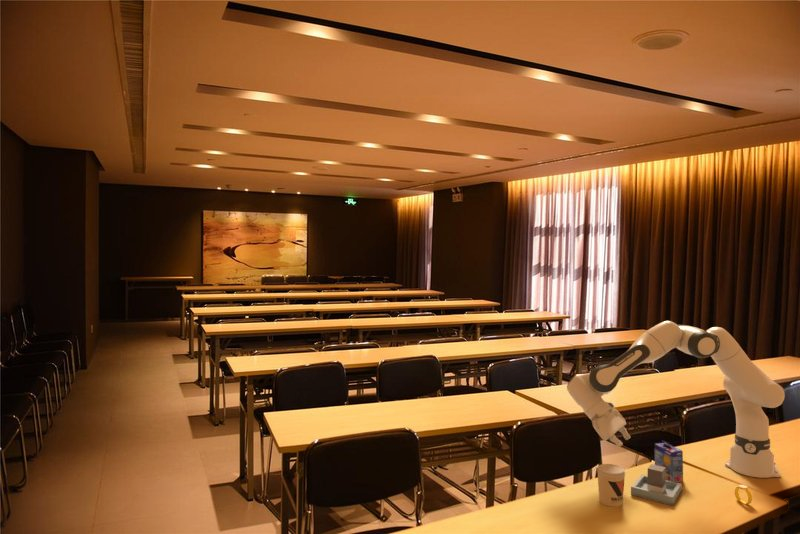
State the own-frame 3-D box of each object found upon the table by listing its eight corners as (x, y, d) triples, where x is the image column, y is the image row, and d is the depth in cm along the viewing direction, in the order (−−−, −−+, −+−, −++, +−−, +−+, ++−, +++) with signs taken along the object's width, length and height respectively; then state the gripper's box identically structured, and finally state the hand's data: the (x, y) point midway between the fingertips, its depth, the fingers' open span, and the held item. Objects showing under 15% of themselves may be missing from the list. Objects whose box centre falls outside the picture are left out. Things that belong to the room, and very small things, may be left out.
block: (651, 486, 203) (651, 464, 203) (665, 490, 200) (665, 467, 200) (647, 491, 199) (647, 468, 199) (662, 494, 196) (662, 471, 196)
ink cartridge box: (653, 473, 218) (653, 437, 217) (665, 471, 219) (665, 436, 219) (671, 483, 208) (672, 446, 208) (683, 481, 210) (683, 444, 209)
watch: (733, 500, 194) (732, 483, 194) (739, 499, 195) (738, 482, 195) (748, 506, 188) (747, 489, 189) (754, 505, 189) (753, 488, 189)
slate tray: (641, 482, 210) (641, 474, 209) (681, 491, 201) (681, 483, 201) (630, 494, 199) (630, 486, 199) (672, 505, 190) (672, 497, 190)
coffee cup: (612, 510, 187) (612, 475, 187) (591, 499, 195) (591, 466, 195) (630, 504, 191) (631, 470, 191) (609, 493, 200) (609, 461, 199)
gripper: (595, 414, 203) (622, 445, 197) (613, 401, 219) (638, 430, 213) (584, 423, 206) (610, 454, 200) (602, 410, 222) (627, 439, 216)
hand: (625, 442), depth 206 cm, fingers open, 8 cm apart
